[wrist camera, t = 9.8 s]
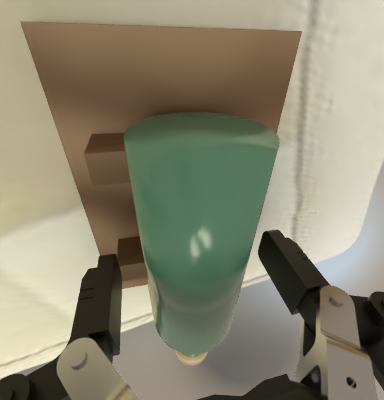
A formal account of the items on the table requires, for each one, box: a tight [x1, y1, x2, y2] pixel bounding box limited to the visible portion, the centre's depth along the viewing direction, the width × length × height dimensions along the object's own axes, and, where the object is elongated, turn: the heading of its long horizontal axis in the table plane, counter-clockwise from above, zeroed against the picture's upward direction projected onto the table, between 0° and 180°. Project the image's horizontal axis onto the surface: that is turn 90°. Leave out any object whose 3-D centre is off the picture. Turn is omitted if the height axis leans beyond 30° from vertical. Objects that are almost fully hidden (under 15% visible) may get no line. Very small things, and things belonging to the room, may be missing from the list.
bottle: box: [123, 112, 280, 365], centre depth 13 cm, size 18×5×5 cm, turn 179°
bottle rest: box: [21, 22, 302, 289], centre depth 14 cm, size 18×12×4 cm, turn 179°
